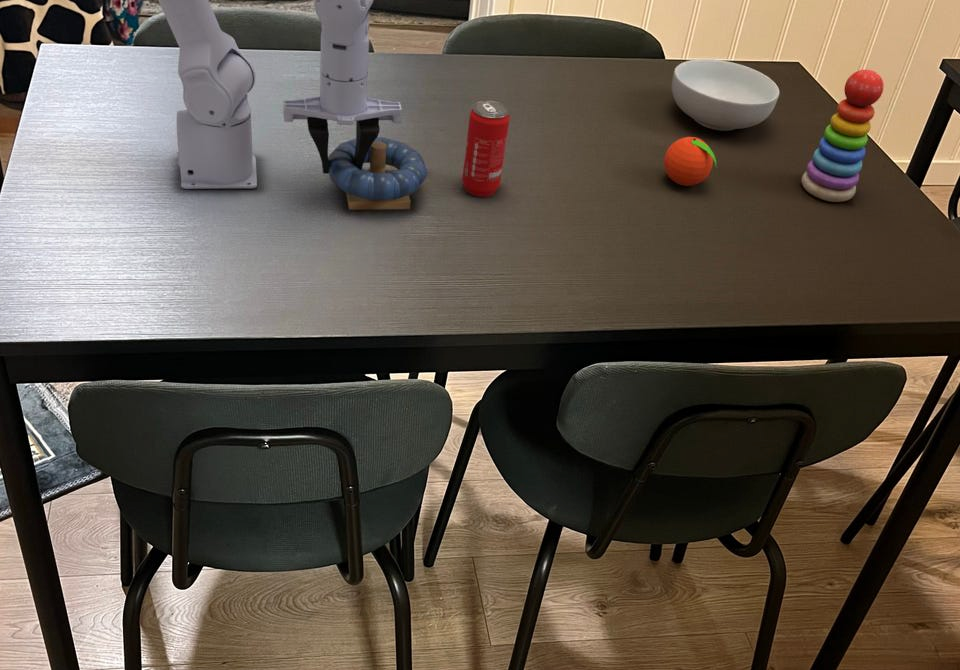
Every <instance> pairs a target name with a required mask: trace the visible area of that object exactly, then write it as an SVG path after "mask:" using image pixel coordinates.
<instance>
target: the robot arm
mask: <svg viewBox="0 0 960 670" xmlns="http://www.w3.org/2000/svg"><path fill="white" fill-rule="evenodd" d="M157 1H158V4H159V6H160V8H161V10H162V12H163V15H164V16H165V19H166V21H167V23H168V26H169V28H170V30H171V32H172V34H173V37H174V39H175V40H176V41H175V42H176V43H177V45H178V48H179V55H178V66H177V74H178V77H179V79H180V81H181V84H182V90H183V91H182V98H183V99H182V100H183V104H184V106H185V108H186V109H182V110H177V111H176V139H177V141H176V142H177V165H178V166H179V172H180V173H179V174H180V187H181V188H182V189H184V190H185V189H186V190H189V189H191V190H192V189H195V190H196V189H198V190H201V189H204V190H205V189H207V190H208V189H210V190H211V189H256V188H257V187H258V180H257V179H258V178H257V160H256V159H257V158H256V155H254V154H253V134H252V133H253V132H252V129H253V128H252V109H251V105H250V103H249V100H248V94H249V93H250V92H251V91H252V89H253V88H254V86H255V83H256V79H257V77H256V71H255V68H254V66H253V64H252V62H251V60H249V58H248V57H247V56H246V55H245V54H243V52H242V51H241V50H240V48H239V47H238V44H237V42H236V40H235V38H234V37H232V36H231V35H230V34H229V33H226V32H224V31H223V30H222V29H221V27H220V25H219V22H218V19H217V18H216V15H215V13H214V11H213V10H214V9H213V7H212V6H211V3H210V1H209V0H157ZM373 4H374V0H314V2H313V6H314V11H315V13H316V15H317V17H318V20H320V22H321V33H320V55H319V56H320V59H319V60H320V61H319V62H320V65H319V66H320V69H319V72H320V73H319V74H320V75H319V95H318V96H312V97H306V98H300V99H290V100H289V99H287V100H285V99H284V100H283V101H282V103H283V104H282V107H283V108H282V109H283V110H282V111H283V113H282V114H283V122H284V123H292V122H294V120H306V121H307V129H308V130H307V131H308V132H309V135H310V137H311V139H312V141H313V143H314V144H315V145H314V146H316V149H317V152H318V154H319V157H320V162H321V168H322V169H321V170H322V174H327V175H329V162H328V157H329V140H330V139H329V138H330V132H329V123H328V121H333V122H336V123H337V124H338V125H339V126H353V125H354V124H355V130H356V131H355V139H356V147H355V156H354V166H356V167H357V168H359V169H361V170H363V166H364V164H365V163H364V160H365V157H366V155H367V153H368V151H369V149H370V147H371V145H372V144H373V142H374V141H375V139H376V138H377V137H379V135H380V131H381V130H380V129H381V127H380V121H391V122H392V123H393V124H401V123H402V117H403V116H402V115H403V108H402V105H401V102H399V101H388V100H383V99H376V98H369V97H368V76H369V75H368V74H369V53H370V52H369V51H370V33H369V31H370V14H369V13H368V12H369V10H370V8H371V7H372V5H373ZM363 163H364V164H363Z"/></svg>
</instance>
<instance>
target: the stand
mask: <svg viewBox="0 0 960 670" xmlns="http://www.w3.org/2000/svg"><path fill="white" fill-rule="evenodd" d="M385 163H386V144H385V143H383V142H373V144H372V145H371V154H370V163H369V169H363V170H364V171H368V172H371V173H391V172H394V171H397V170H398V169H386V164H385ZM345 194H346V200H347V206H348V210H349V211H351V210H352V211H353V210H354V211H355V210H411V198H410V195H407V196H404V197H401V198H398V199H395V200H368V199H365V198H361V197H358V196H354V195H350V194H348V193H346V192H345Z"/></svg>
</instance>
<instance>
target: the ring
mask: <svg viewBox="0 0 960 670" xmlns="http://www.w3.org/2000/svg"><path fill="white" fill-rule="evenodd" d="M374 142H383V143H385V144H386V163H385V166H386V165H387V166H390V167H394V168H395V169H396V170H397V171H394V172H391V173H371V172H368V171H364V170H365V169H362V170H361V169H359V168H357V167H356V166H354V156H355V147H356V138H353V139H349V140H347V141H344V142H341V143H340V144H338V145H337V147H336V148H334V150H333V151H331V153H330V154H328V162H329V174H328V176H329V179H330V181H331V182H332V183H333V184H334V185H336V186H337V187H338V188H339V189H340V190H342V191H343V192H344V193H345V194H346V193H348V194H350V195H354V196H358V197H361V198H365V199H368V200H395V199H398V198H401V197H404V196H407V195H409V196H410V195H413V194H414V193H416V192H417V191H418V190H419V189H420V187H421V186H422V185H423V183H424V182H425V180H426V179H427V175H428V171H427V166H426V164H425V161H424V157H423V156H422V155H421V153H419V152H418V151H417V150H415V149H414V148H412V147H411V146H409V145H408V144H406V143H405V142H402V141H398V140H394V139H392V138H387V137H383V136H381V137H380V136H378V137H377V138H376V139H375V141H374ZM370 154H371V147H370V149H369V151H368V153H367V155H366V157H365V160H364V163H363V165H364V164H370Z"/></svg>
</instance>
